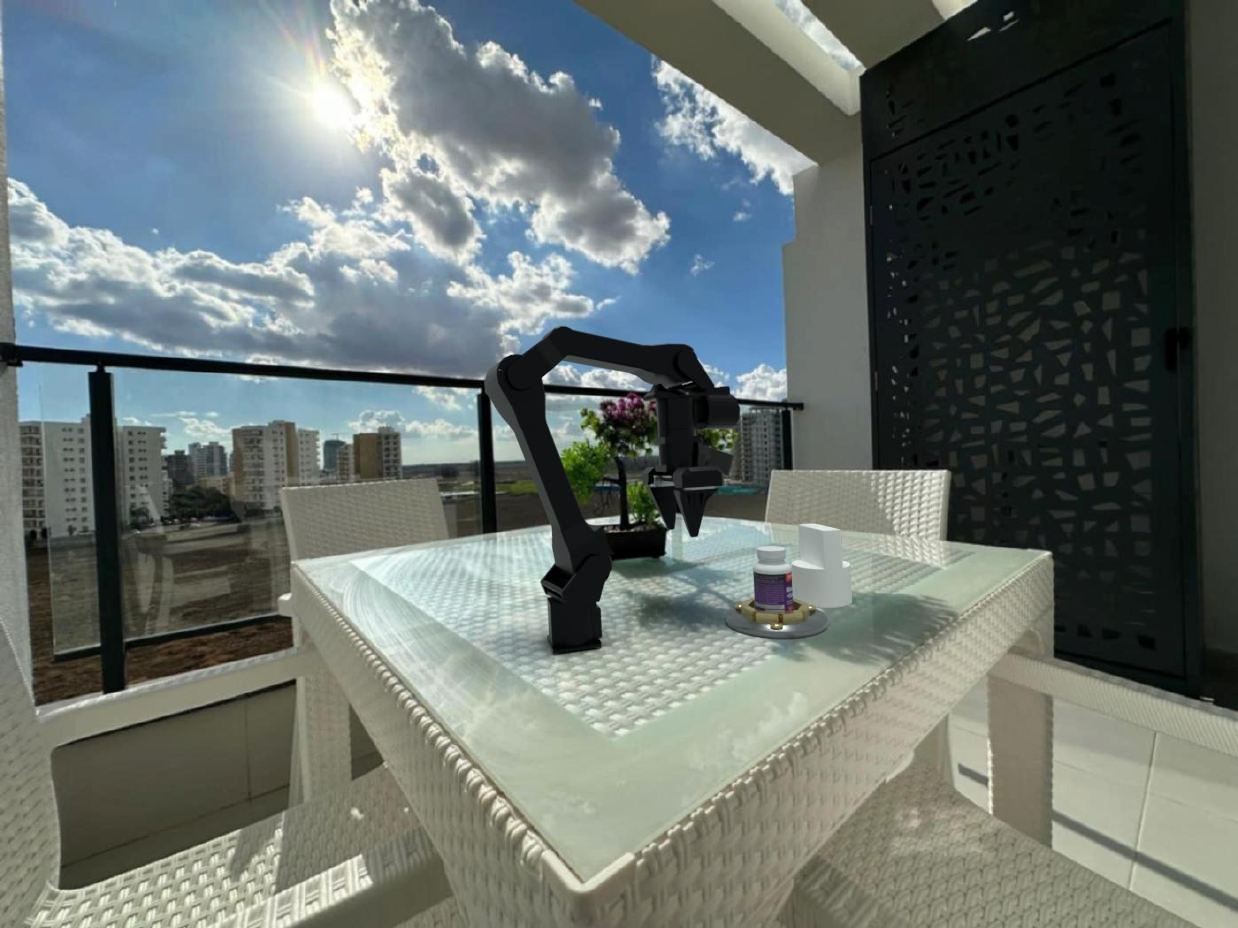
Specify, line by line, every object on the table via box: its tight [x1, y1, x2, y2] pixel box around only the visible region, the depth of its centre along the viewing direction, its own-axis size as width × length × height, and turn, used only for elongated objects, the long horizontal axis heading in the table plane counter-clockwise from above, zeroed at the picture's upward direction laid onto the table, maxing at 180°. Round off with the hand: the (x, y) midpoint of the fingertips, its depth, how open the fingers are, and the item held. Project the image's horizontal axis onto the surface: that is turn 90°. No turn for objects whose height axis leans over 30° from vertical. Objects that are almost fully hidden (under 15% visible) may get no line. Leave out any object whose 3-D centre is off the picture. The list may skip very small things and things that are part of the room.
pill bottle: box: [752, 545, 794, 613], centre depth 75 cm, size 5×5×10 cm
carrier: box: [725, 597, 829, 640], centre depth 75 cm, size 14×14×2 cm
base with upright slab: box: [791, 523, 853, 609], centre depth 85 cm, size 9×9×12 cm
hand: (681, 533), depth 79 cm, fingers open, 9 cm apart
